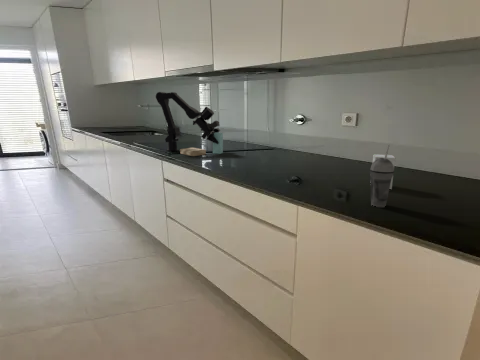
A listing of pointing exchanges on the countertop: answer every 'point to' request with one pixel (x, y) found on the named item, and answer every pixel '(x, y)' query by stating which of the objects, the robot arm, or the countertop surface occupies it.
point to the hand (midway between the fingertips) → (219, 143)
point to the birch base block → (193, 151)
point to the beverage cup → (381, 180)
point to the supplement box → (389, 157)
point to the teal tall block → (218, 147)
